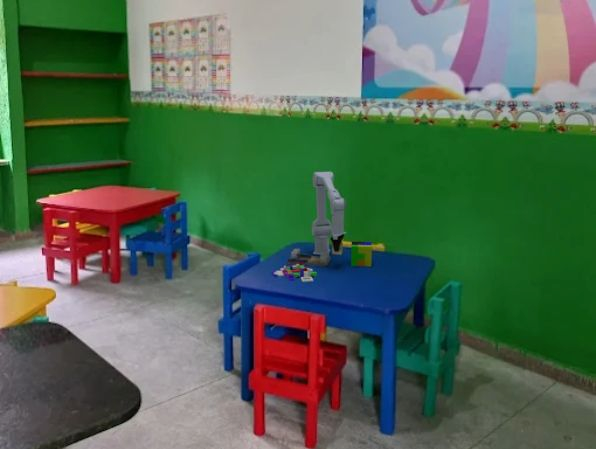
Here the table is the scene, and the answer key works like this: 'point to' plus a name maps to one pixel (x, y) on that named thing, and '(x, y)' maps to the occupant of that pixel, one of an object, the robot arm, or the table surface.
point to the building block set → (304, 273)
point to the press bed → (312, 259)
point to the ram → (295, 254)
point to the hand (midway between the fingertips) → (337, 250)
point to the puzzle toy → (361, 253)
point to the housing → (339, 249)
